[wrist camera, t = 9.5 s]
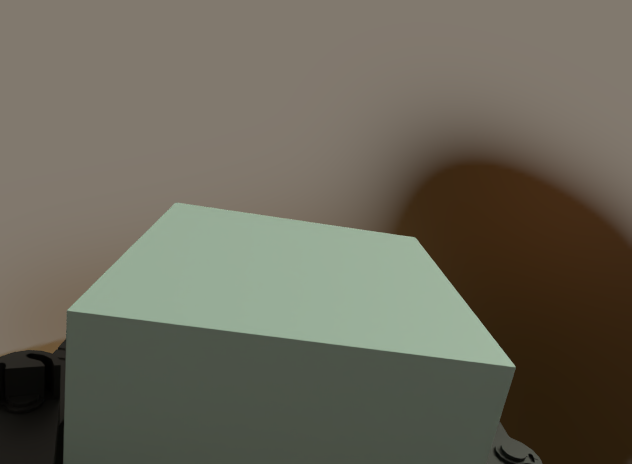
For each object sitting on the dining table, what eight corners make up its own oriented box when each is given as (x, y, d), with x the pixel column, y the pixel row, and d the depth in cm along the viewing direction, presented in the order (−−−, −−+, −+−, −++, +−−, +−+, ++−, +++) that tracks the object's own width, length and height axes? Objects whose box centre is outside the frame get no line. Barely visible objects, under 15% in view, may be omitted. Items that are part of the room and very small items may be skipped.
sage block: (390, 771, 11) (515, 366, 8) (56, 752, 10) (66, 310, 7) (353, 506, 17) (415, 237, 15) (151, 486, 17) (175, 202, 14)
